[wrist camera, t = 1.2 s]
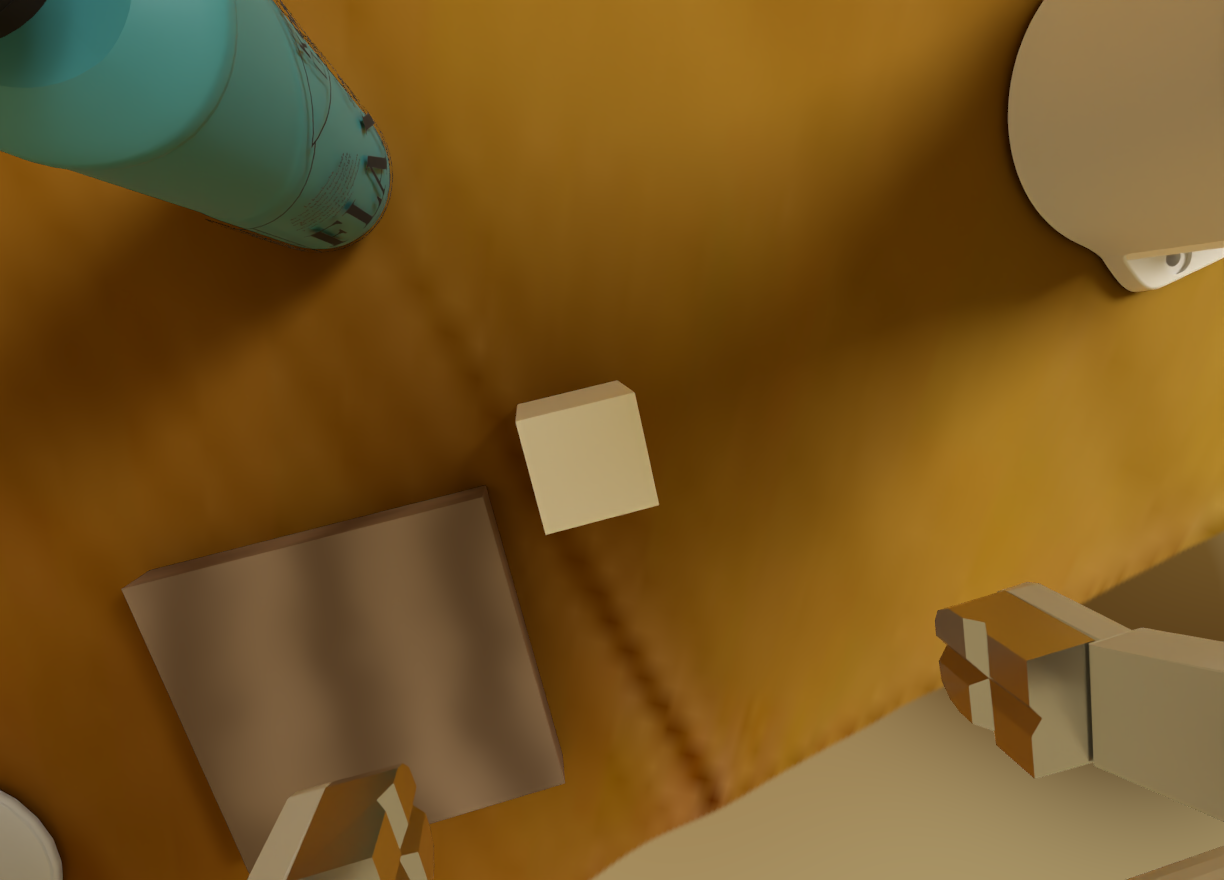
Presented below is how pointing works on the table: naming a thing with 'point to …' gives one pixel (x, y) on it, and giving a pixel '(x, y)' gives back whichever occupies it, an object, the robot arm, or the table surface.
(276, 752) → the walnut base
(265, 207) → the beverage bottle
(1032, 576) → the table surface
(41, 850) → the chalice
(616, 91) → the table surface
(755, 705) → the table surface
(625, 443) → the off-white cube
